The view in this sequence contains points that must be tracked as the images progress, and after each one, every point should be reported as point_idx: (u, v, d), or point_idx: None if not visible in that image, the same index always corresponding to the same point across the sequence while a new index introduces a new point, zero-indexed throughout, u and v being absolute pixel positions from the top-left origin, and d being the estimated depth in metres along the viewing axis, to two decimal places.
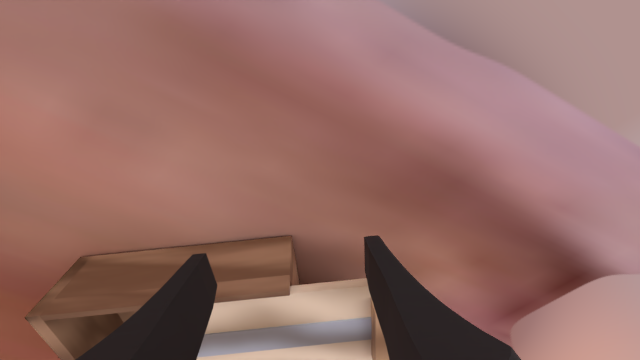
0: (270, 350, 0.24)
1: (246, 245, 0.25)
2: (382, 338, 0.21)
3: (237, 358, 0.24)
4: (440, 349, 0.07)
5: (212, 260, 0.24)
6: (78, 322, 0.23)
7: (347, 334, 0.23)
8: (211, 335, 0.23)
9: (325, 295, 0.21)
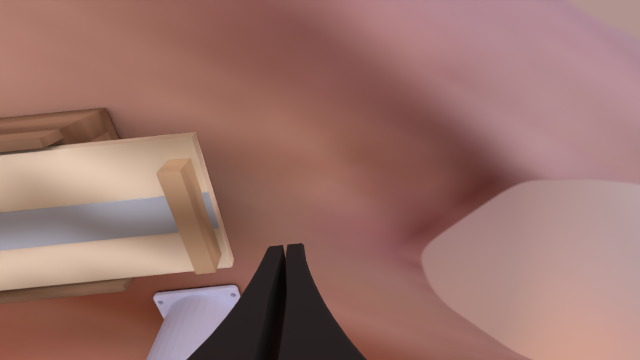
0: (65, 246, 0.19)
1: (42, 116, 0.19)
2: (181, 213, 0.16)
3: (25, 258, 0.19)
4: None
5: None
6: None
7: (157, 221, 0.18)
8: None
9: (103, 155, 0.16)
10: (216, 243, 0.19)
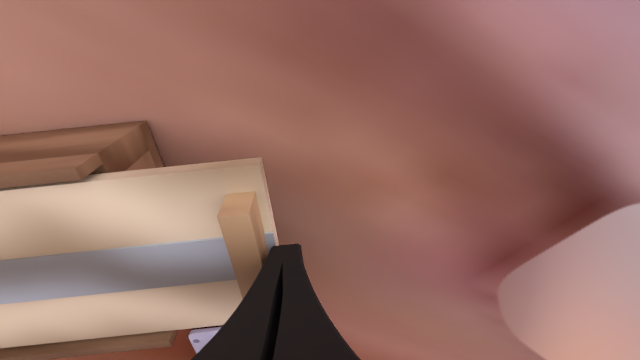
0: (87, 297, 0.15)
1: (68, 131, 0.16)
2: (244, 264, 0.12)
3: (37, 311, 0.15)
4: None
5: None
6: None
7: (205, 268, 0.14)
8: None
9: (142, 188, 0.12)
10: None
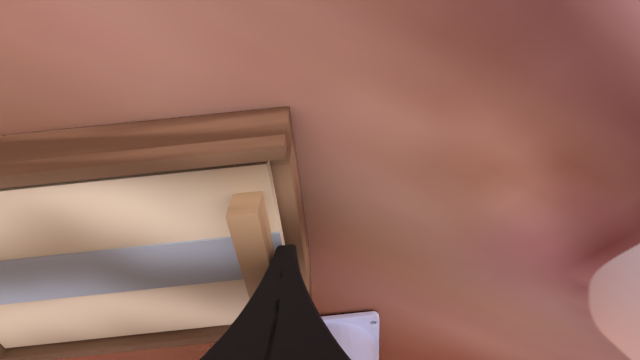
0: (93, 297, 0.15)
1: (217, 116, 0.16)
2: (251, 264, 0.12)
3: (42, 311, 0.15)
4: None
5: (159, 130, 0.14)
6: None
7: (211, 268, 0.14)
8: None
9: (149, 188, 0.12)
10: None
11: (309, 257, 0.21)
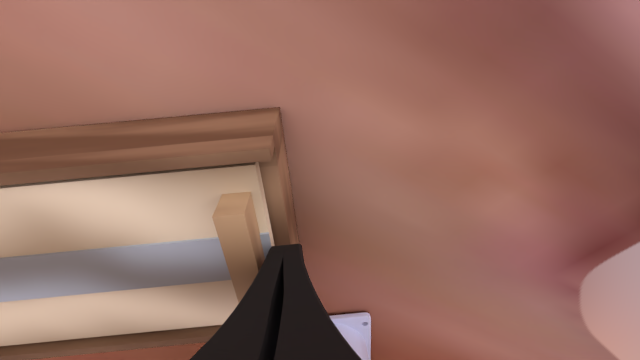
0: (81, 296, 0.15)
1: (207, 117, 0.16)
2: (239, 265, 0.12)
3: (30, 310, 0.15)
4: None
5: (148, 130, 0.14)
6: None
7: (200, 268, 0.14)
8: None
9: (137, 188, 0.12)
10: None
11: None
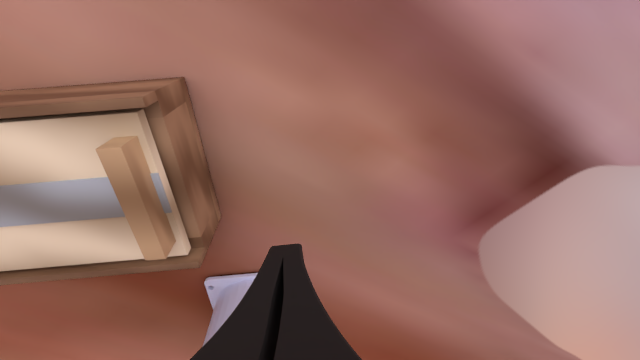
0: (8, 229, 0.18)
1: (120, 83, 0.19)
2: (125, 193, 0.15)
3: None
4: None
5: (65, 91, 0.17)
6: None
7: (105, 204, 0.17)
8: None
9: (44, 130, 0.15)
10: (169, 228, 0.18)
11: (218, 214, 0.24)
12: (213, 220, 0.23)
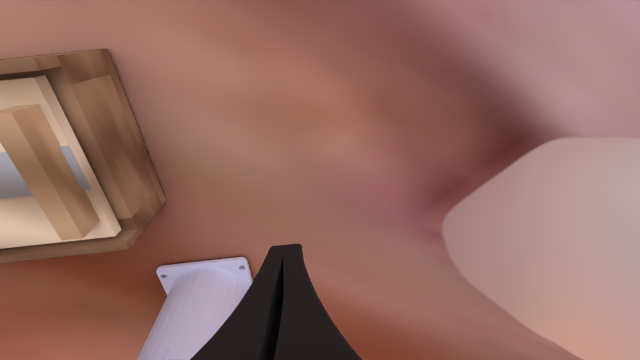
0: None
1: None
2: (25, 165, 0.14)
3: None
4: None
5: None
6: None
7: (17, 181, 0.16)
8: None
9: None
10: (89, 207, 0.17)
11: (161, 198, 0.23)
12: (153, 202, 0.22)
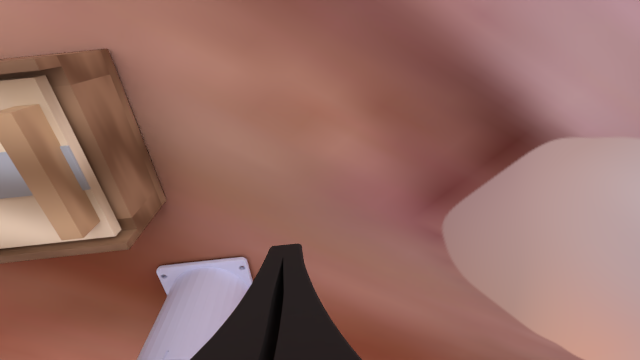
0: None
1: None
2: (25, 165, 0.14)
3: None
4: None
5: None
6: None
7: (17, 181, 0.16)
8: None
9: None
10: (89, 207, 0.17)
11: (161, 198, 0.23)
12: (153, 202, 0.22)
